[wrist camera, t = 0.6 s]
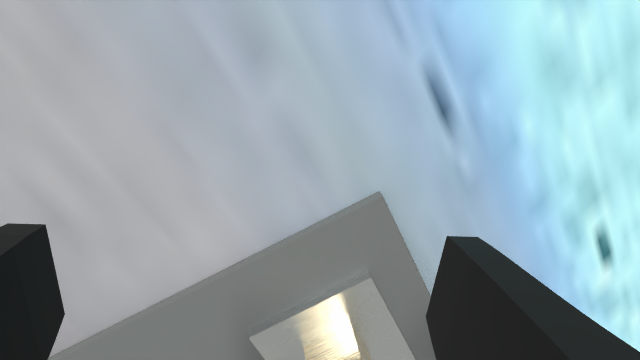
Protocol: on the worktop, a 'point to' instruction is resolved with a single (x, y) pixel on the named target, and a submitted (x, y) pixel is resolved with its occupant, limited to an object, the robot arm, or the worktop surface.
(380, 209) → the mat
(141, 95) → the worktop surface
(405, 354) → the beige blocky piece
